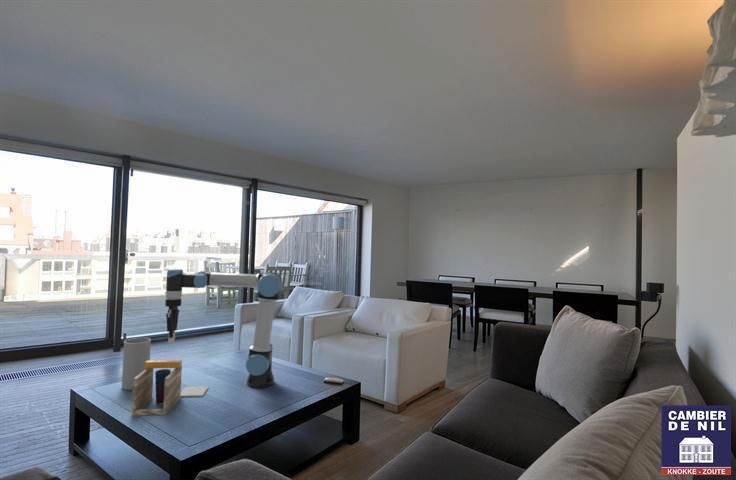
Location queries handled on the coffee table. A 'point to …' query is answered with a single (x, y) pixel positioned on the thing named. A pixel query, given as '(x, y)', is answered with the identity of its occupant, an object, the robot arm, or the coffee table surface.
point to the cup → (161, 384)
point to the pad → (193, 391)
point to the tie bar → (163, 364)
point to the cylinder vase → (134, 359)
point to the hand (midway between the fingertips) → (171, 343)
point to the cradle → (145, 387)
